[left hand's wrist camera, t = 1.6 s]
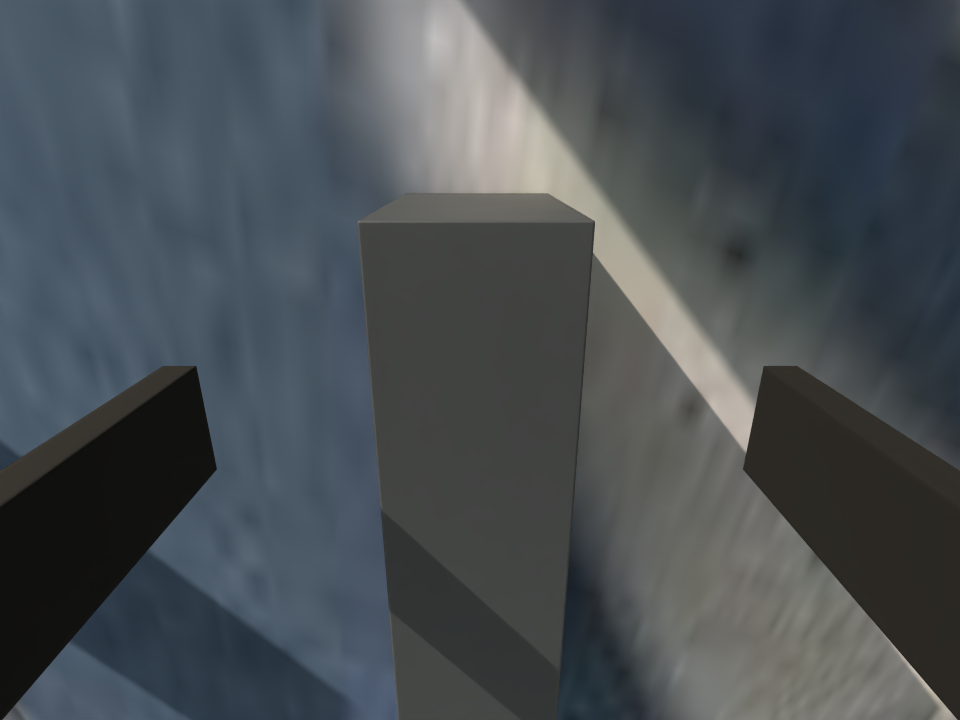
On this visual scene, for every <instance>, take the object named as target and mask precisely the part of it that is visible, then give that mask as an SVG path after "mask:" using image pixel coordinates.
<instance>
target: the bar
mask: <svg viewBox="0 0 960 720" xmlns="http://www.w3.org/2000/svg"><path fill="white" fill-rule="evenodd" d="M357 224H358V236H359V248H360V261H361V273H362V285H363V297H364V309H365V322H366V334H367V346H368V358H369V370H370V383H371V395H372V407H373V419H374V431H375V444H376V456H377V468H378V480H379V492H380V505H381V517H382V529H383V541H384V553H385V566H386V578H387V590H388V602H389V614H390V627H391V639H392V651H393V663H394V675H395V688H396V700H397V712H398V720H557V710H558V697H559V684H560V671H561V658H562V645H563V632H564V619H565V606H566V593H567V580H568V567H569V554H570V541H571V528H572V515H573V502H574V489H575V476H576V463H577V450H578V437H579V424H580V411H581V398H582V385H583V372H584V359H585V346H586V333H587V320H588V307H589V294H590V281H591V268H592V255H593V242H594V229H595V222H594V220H592V219H590V218H588V217H587V216H585V215H583V214H582V213H580V212H578V211H576V210H575V209H573V208H571V207H570V206H568V205H566V204H565V203H563V202H561V201H559V200H558V199H556V198H554V197H553V196H551V195H549V194H405V195H403V196H401V197H399V198H398V199H396V200H394V201H392V202H391V203H389V204H387V205H385V206H384V207H382V208H380V209H378V210H377V211H375V212H373V213H371V214H370V215H368V216H366V217H364V218H363V219H361V220H359V221H358V223H357Z"/></svg>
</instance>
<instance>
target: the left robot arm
mask: <svg viewBox="0 0 960 720" xmlns="http://www.w3.org/2000/svg"><path fill="white" fill-rule="evenodd" d="M216 470H217V468H216V463H215V458H214V453H213V448H212V443H211V438H210V433H209V428H208V423H207V418H206V413H205V408H204V403H203V398H202V393H201V388H200V383H199V378H198V373H197V368H196V366H162V367H161V368H159V369H158V370H156V371H155V372H153V373H152V374H150V375H148V376H147V377H145V378H144V379H142V380H141V381H139V382H138V383H136V384H134V385H133V386H131V387H130V388H128V389H127V390H125V391H124V392H122V393H121V394H119V395H117V396H116V397H114V398H113V399H111V400H110V401H108V402H107V403H105V404H103V405H102V406H100V407H99V408H97V409H96V410H94V411H93V412H91V413H89V414H88V415H86V416H85V417H83V418H82V419H80V420H79V421H77V422H75V423H74V424H72V425H71V426H69V427H68V428H66V429H65V430H63V431H62V432H60V433H58V434H57V435H55V436H54V437H52V438H51V439H49V440H48V441H46V442H44V443H43V444H41V445H40V446H38V447H37V448H35V449H34V450H32V451H30V452H29V453H27V454H26V455H24V456H23V457H21V458H20V459H18V460H16V461H15V462H13V463H12V464H10V465H9V466H7V467H6V468H4V469H2V470H1V471H0V720H3V718H4V717H5V716H6V715H7V714H8V712H9V711H10V710H11V709H12V708H13V707H14V705H15V704H16V703H17V702H18V701H19V700H20V698H21V697H22V696H23V695H24V694H25V693H26V691H27V690H28V689H29V688H30V687H31V686H32V684H33V683H34V682H35V681H36V680H37V679H38V677H39V676H40V675H41V674H42V673H43V672H44V670H45V669H46V668H47V667H48V666H49V665H50V663H51V662H52V661H53V660H54V659H55V658H56V656H57V655H58V654H59V653H60V652H61V651H62V649H63V648H64V647H65V646H66V645H67V644H68V642H69V641H70V640H71V639H72V638H73V637H74V635H75V634H76V633H77V632H78V631H79V630H80V628H81V627H82V626H83V625H84V624H85V623H86V621H87V620H88V619H89V618H90V617H91V616H92V614H93V613H94V612H95V611H96V610H97V609H98V607H99V606H100V605H101V604H102V603H103V602H104V600H105V599H106V598H107V597H108V596H109V595H110V593H111V592H112V591H113V590H114V589H115V588H116V586H117V585H118V584H119V583H120V582H121V581H122V579H123V578H124V577H125V576H126V575H127V574H128V572H129V571H130V570H131V569H132V568H133V567H134V565H135V564H136V563H137V562H138V561H139V560H140V558H141V557H142V556H143V555H144V554H145V553H146V551H147V550H148V549H149V548H150V547H151V546H152V544H153V543H154V542H155V541H156V540H157V539H158V537H159V536H160V535H161V534H162V533H163V532H164V530H165V529H166V528H167V527H168V526H169V525H170V523H171V522H172V521H173V520H174V519H175V518H176V516H177V515H178V514H179V513H180V512H181V511H182V509H183V508H184V507H185V506H186V505H187V504H188V502H189V501H190V500H191V499H192V498H193V496H194V495H195V494H196V493H197V492H198V491H199V489H200V488H201V487H202V486H203V485H204V484H205V482H206V481H207V480H208V479H209V478H210V477H211V475H212V474H213V473H214V472H215V471H216ZM743 470H744V471H745V472H746V473H747V474H748V475H749V477H750V478H751V479H752V480H753V481H754V482H755V484H756V485H757V486H758V487H759V488H760V489H761V491H762V492H763V493H764V494H765V495H766V496H767V498H768V499H769V500H770V501H771V502H772V504H773V505H774V506H775V507H776V508H777V509H778V511H779V512H780V513H781V514H782V515H783V516H784V518H785V519H786V520H787V521H788V522H789V523H790V525H791V526H792V527H793V528H794V529H795V530H796V532H797V533H798V534H799V535H800V536H801V537H802V539H803V540H804V541H805V542H806V543H807V544H808V546H809V547H810V548H811V549H812V550H813V551H814V553H815V554H816V555H817V556H818V557H819V558H820V560H821V561H822V562H823V563H824V564H825V565H826V567H827V568H828V569H829V570H830V571H831V572H832V574H833V575H834V576H835V577H836V578H837V579H838V581H839V582H840V583H841V584H842V585H843V586H844V588H845V589H846V590H847V591H848V592H849V593H850V595H851V596H852V597H853V598H854V599H855V600H856V602H857V603H858V604H859V605H860V606H861V607H862V609H863V610H864V611H865V612H866V613H867V614H868V616H869V617H870V618H871V619H872V620H873V621H874V623H875V624H876V625H877V626H878V627H879V628H880V630H881V631H882V632H883V633H884V634H885V635H886V637H887V638H888V639H889V640H890V641H891V642H892V644H893V645H894V646H895V647H896V648H897V649H898V651H899V652H900V653H901V654H902V655H903V656H904V658H905V659H906V660H907V661H908V662H909V663H910V665H911V666H912V667H913V668H914V669H915V670H916V672H917V673H918V674H919V675H920V676H921V677H922V679H923V680H924V681H925V682H926V683H927V684H928V686H929V687H930V688H931V689H932V690H933V691H934V693H935V694H936V695H937V696H938V697H939V698H940V700H941V701H942V702H943V703H944V704H945V705H946V707H947V708H948V709H949V710H950V711H951V712H952V714H953V715H954V716H955V717H956V718H957V720H960V471H959V470H958V469H956V468H954V467H953V466H951V465H950V464H948V463H947V462H945V461H944V460H942V459H940V458H939V457H937V456H936V455H934V454H933V453H931V452H930V451H928V450H926V449H925V448H923V447H922V446H920V445H919V444H917V443H916V442H914V441H912V440H911V439H909V438H908V437H906V436H905V435H903V434H902V433H900V432H898V431H897V430H895V429H894V428H892V427H891V426H889V425H888V424H886V423H885V422H883V421H881V420H880V419H878V418H877V417H875V416H874V415H872V414H871V413H869V412H867V411H866V410H864V409H863V408H861V407H860V406H858V405H857V404H855V403H853V402H852V401H850V400H849V399H847V398H846V397H844V396H843V395H841V394H839V393H838V392H836V391H835V390H833V389H832V388H830V387H829V386H827V385H826V384H824V383H822V382H821V381H819V380H818V379H816V378H815V377H813V376H812V375H810V374H808V373H807V372H805V371H804V370H802V369H801V368H799V367H798V366H764V368H763V373H762V378H761V383H760V388H759V393H758V398H757V403H756V408H755V413H754V418H753V423H752V428H751V433H750V438H749V443H748V448H747V453H746V458H745V463H744V468H743Z"/></svg>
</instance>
